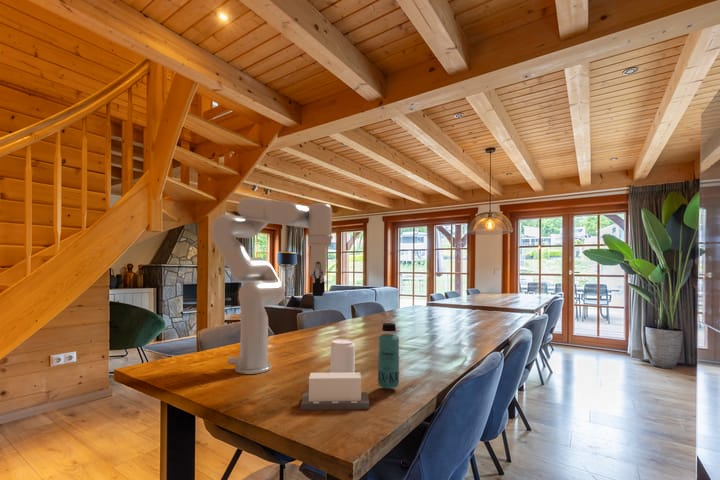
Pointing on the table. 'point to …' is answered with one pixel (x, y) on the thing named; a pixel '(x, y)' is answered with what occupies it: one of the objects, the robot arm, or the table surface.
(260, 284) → the robot arm
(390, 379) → the beverage bottle
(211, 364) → the table surface
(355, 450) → the table surface
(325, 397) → the white rectangular block
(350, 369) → the beverage can
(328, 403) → the header
